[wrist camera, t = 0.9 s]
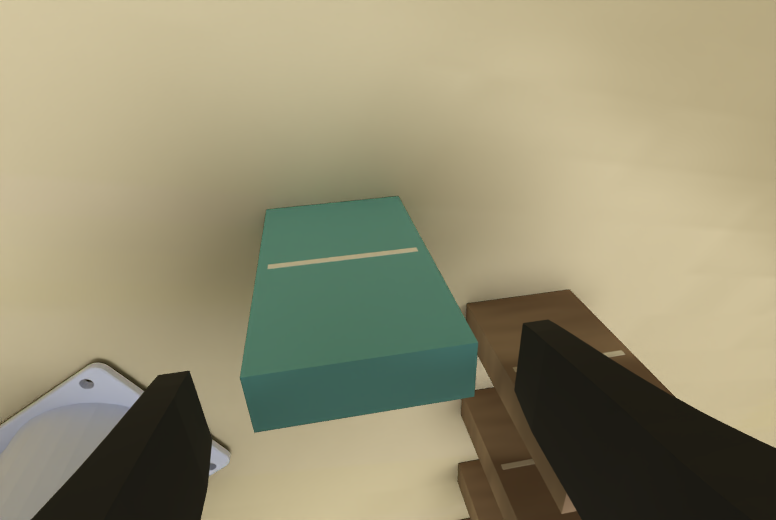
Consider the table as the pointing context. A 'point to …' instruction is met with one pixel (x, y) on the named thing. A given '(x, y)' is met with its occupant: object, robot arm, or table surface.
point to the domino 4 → (508, 461)
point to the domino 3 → (501, 350)
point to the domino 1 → (350, 318)
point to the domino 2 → (477, 492)
